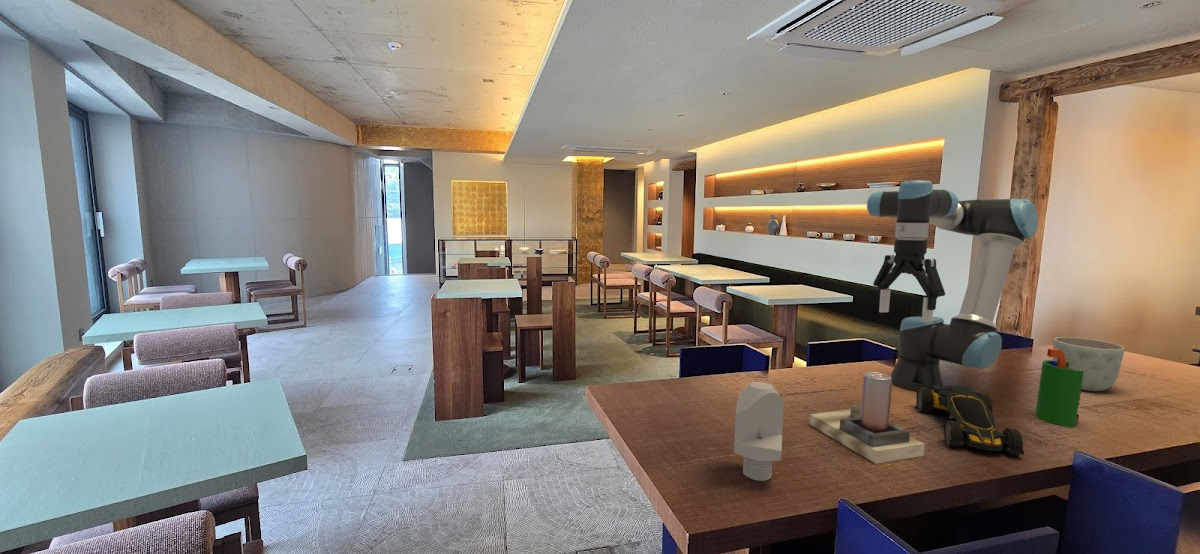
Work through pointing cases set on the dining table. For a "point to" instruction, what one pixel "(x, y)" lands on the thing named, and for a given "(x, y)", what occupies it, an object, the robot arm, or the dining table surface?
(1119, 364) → the planter
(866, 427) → the beverage can
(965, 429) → the toy car
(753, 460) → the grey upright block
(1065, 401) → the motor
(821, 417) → the board
